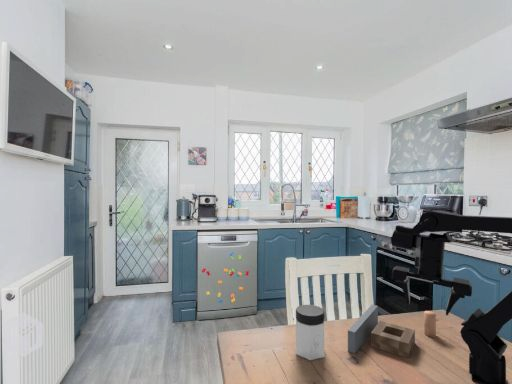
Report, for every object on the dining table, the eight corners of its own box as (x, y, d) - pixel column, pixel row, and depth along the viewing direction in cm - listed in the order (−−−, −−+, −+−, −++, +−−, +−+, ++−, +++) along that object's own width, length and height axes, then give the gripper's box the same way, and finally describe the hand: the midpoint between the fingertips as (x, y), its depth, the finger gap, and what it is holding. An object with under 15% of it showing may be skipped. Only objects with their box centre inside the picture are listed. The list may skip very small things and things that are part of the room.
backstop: (377, 323, 98) (377, 306, 98) (354, 353, 79) (354, 332, 79) (371, 321, 99) (371, 304, 99) (347, 351, 80) (347, 330, 80)
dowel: (436, 334, 90) (436, 312, 90) (435, 338, 88) (435, 315, 88) (425, 331, 92) (424, 310, 92) (423, 335, 90) (423, 313, 90)
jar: (303, 363, 75) (303, 318, 75) (289, 347, 82) (289, 306, 83) (331, 356, 78) (331, 313, 78) (316, 341, 85) (315, 302, 86)
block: (414, 343, 85) (414, 329, 85) (408, 358, 77) (408, 343, 77) (380, 333, 91) (380, 320, 91) (371, 346, 83) (371, 332, 83)
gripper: (471, 256, 79) (466, 309, 80) (398, 244, 90) (395, 291, 91) (474, 265, 70) (468, 325, 71) (392, 250, 81) (389, 303, 81)
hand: (426, 309), depth 79 cm, fingers open, 9 cm apart
